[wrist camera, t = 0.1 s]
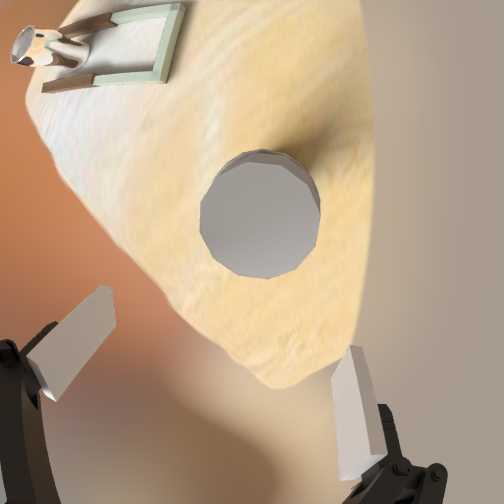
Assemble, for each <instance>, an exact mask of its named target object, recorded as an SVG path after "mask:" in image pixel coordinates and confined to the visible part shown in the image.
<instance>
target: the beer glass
mask: <svg viewBox="0 0 504 504" xmlns="http://www.w3.org/2000/svg"><path fill="white" fill-rule="evenodd" d="M89 52H90V47H89V45H88V44H87V43H86V42H77V41H73V40H71V39H69V38H67V37H66V36H64V35H63V34H61V33H59V32H57V31H55V30H53V29H49V28H45V27H40V26H33V25H30V26H27V27H26V28H25V29H23V30H22V32H21V33H20V34H19V36H18V37H17V39H16V40H15V43H14V45H13V47H12V51H11V57H10V59H11V62H12V63H13V64H20V65H24V66H30V67H50V66H61V67H64V68H66V69H68V70H70V71H75V70H77V69H79V68H80V67H81V66H82V65H83V64H84V63H85V62H86V60H87V58H88V56H89Z"/></svg>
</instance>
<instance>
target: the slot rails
mask: <svg viewBox="0 0 504 504" xmlns="http://www.w3.org/2000/svg"><path fill="white" fill-rule="evenodd" d="M111 16H112V13H107V14H103V15H99V16H96V17H92V18H89V19H86V20H82V21H79V22H76V23H73V24H70V25H67V26H65V27H62V28H59V29H58V31H57V32H59V33H61V34H63V35H64V36H66V37H67V38H69V39H70V38H73V37H76V36H80V35H83V34H87V33H91V32H95V31H99V30H103V29H108V28H112V27H117V24H116V23H114V22H112V21H110V19H111ZM94 76H100V75H99V74H95V73H90V74H84V75H78V76H73V77H68V78H63V79H58V80H54V81H50V82H46V83H43V87H42V92H41V93H56V92H62V91H68V90H75V89H82V88H90V87H99V86H97V85H92V84H93V79H94Z"/></svg>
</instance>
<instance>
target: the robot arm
mask: <svg viewBox="0 0 504 504" xmlns="http://www.w3.org/2000/svg"><path fill="white" fill-rule="evenodd" d="M115 327H116V321H115V313H114V303H113V293H112V288H110V287H107V286H104V285H100V286H99V287H98V288H97V289H96V290H95V291H94V292H92V293H91V294H90V295H89V296H88V297H87V298H86V299H85V300H83V301H82V302H81V303H80V304H79V305H78V306H77V307H76V308H75V309H74V310H73V311H71V312H70V313H69V314H68V315H67V316H66V317H65V318H64V319H63V320H62V321H61V322H60V323H58V322H56V321H55V322H52V323H51V324H48V325H47V326H46V327H44V328H43V329H42V330H41V332H39V333H38V334H37V335H36V337H34V338H33V339H32V340H31V341H30V342H29V343H28V344H27V345H26V346H25V347H24V348H23V349H22V350H21V351H20V352H19V351H18V349H17V347H16V344H15V343H14V341H12V340H9V339H5V340H1V341H0V463H1V470H2V476H3V482H4V487H5V492H6V496H7V502H6V503H5V504H61V502H60V499H59V496H58V493H57V489H56V486H55V482H54V479H53V475H52V471H51V466H50V462H49V457H48V452H47V448H46V442H45V436H44V429H43V421H42V413H41V402H40V394H39V390H40V389H41V388H42V389H43V391H44V393H45V395H46V396H48V397H50V398H51V399H53V400H54V401H57V400H58V399H59V397H60V396H61V395H62V394H63V392H64V391H65V390H66V388H67V387H68V386H69V384H70V383H71V382H72V380H73V379H74V378H75V376H76V375H77V374H78V373H79V371H80V370H81V369H82V367H83V366H84V365H85V364H86V362H87V361H88V360H89V359H90V357H91V356H92V355H93V354H94V352H95V351H96V350H97V349H98V347H99V346H100V345H101V344H102V342H103V341H104V340H105V339H106V338H107V336H108V335H109V334H110V333H111V332H112V330H113V329H114V328H115ZM331 383H332V392H333V401H334V411H335V421H336V432H337V445H338V459H339V478H340V480H355V479H357V478H358V477H359V476H362V481H361V482H360V483H358V484H357V485H355V486H354V487H353V488H352V489H354V490H353V491H352V493H351V494H350V495H349V496H348V498H346V500H345V501H344V502H343V503H342V504H442V502H443V498H444V493H445V488H446V483H447V477H448V473H447V470H446V468H445V467H444V466H443V465H441V464H439V463H434V464H432V465H430V466H429V467H428V468H424V467H418V466H413V465H411V463H410V461H409V460H408V459H407V458H405V457H403V456H402V453H401V449H400V444H399V440H398V435H397V431H396V430H395V428H396V427H395V424H394V419H393V415H392V412H391V411H390V409H389V408H388V406H387V405H386V404H377V401H376V397H375V393H374V389H373V385H372V381H371V377H370V374H369V370H368V366H367V363H366V359H365V356H364V352H363V349H362V347H359V346H353V345H349V346H348V348H347V350H346V352H345V354H344V356H343V358H342V360H341V362H340V364H339V366H338V367H337V369H336V371H335V373H334V375H333V376H332V378H331Z"/></svg>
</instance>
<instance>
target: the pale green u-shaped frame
mask: <svg viewBox="0 0 504 504" xmlns="http://www.w3.org/2000/svg"><path fill="white" fill-rule="evenodd" d="M185 11H186V8H185V7H184V6H183V5H182V4H181V3H173V4H164V5H156V6H149V7H142V8H136V9H131V10H126V11H121V12H117V13H112V16H111V19H110V21H112V22H114V23H116V24H122V23H127V22H133V21H140V20H147V19H155V18H164V17H167V20H166V23H165V26H164V29H163V33H162V36H161V40H160V43H159V47H158V51H157V54H156V58H155V62H154V67H153V71H148V72H130V73H118V74H108V75H100V76H94V79H93V84H92V85H97V86H110V85H124V84H155V83H163V84H166V83H167V78H168V73H169V69H170V65H171V61H172V57H173V53H174V49H175V45H176V41H177V38H178V34H179V31H180V27H181V24H182V21H183V17H184V14H185Z"/></svg>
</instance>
